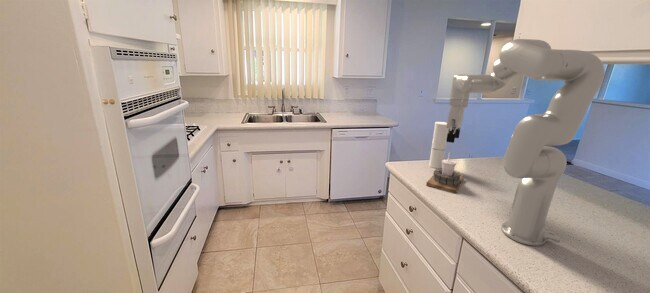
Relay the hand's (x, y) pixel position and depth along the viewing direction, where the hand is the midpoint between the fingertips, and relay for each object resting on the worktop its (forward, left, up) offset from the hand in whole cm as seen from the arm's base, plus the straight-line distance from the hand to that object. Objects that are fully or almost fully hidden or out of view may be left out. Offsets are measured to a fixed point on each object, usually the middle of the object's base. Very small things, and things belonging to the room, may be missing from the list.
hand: (452, 139), depth 127 cm
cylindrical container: (+10, -20, -22) cm, 31 cm away
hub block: (0, 0, -22) cm, 22 cm away
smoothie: (0, 0, -21) cm, 21 cm away
